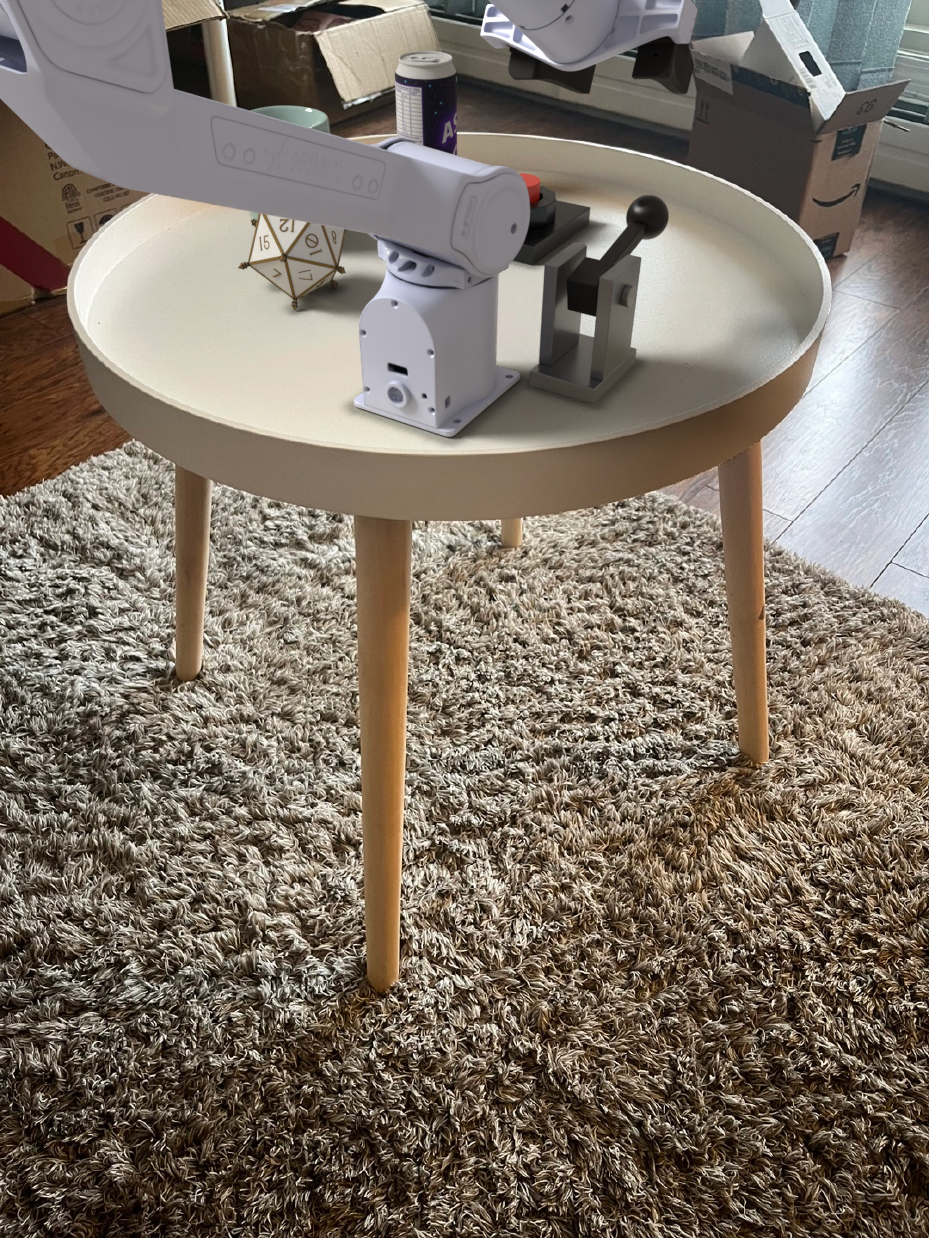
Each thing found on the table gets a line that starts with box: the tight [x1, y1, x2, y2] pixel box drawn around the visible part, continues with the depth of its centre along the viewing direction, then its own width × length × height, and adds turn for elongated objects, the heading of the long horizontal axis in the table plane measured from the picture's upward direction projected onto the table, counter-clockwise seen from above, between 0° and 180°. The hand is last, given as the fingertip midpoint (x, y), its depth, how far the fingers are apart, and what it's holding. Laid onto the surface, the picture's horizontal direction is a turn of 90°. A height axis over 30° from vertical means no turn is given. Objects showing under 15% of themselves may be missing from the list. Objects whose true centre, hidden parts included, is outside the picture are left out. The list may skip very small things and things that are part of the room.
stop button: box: [518, 172, 541, 204], centre depth 88 cm, size 4×4×2 cm
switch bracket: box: [528, 241, 642, 405], centre depth 69 cm, size 7×6×8 cm
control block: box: [512, 185, 591, 267], centre depth 90 cm, size 11×9×4 cm
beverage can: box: [394, 50, 458, 156], centre depth 95 cm, size 6×6×12 cm
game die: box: [237, 213, 351, 312], centre depth 78 cm, size 9×8×10 cm
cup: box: [247, 105, 331, 229], centre depth 87 cm, size 8×8×10 cm
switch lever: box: [567, 194, 670, 318], centre depth 69 cm, size 12×3×3 cm, turn 149°
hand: (636, 79), depth 71 cm, fingers open, 7 cm apart
